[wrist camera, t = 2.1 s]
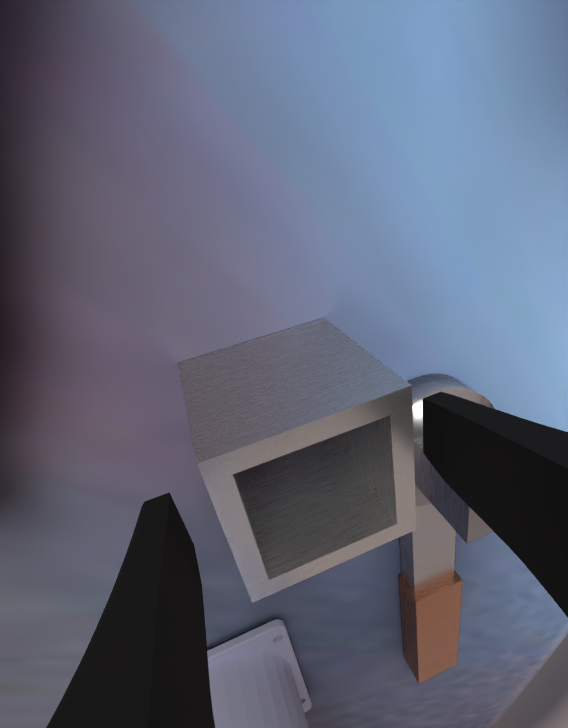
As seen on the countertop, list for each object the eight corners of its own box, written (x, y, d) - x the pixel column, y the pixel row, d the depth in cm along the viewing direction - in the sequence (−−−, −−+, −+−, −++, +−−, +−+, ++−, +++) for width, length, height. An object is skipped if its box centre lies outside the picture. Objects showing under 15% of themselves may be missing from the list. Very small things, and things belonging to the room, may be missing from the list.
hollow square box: (340, 432, 15) (416, 529, 11) (220, 477, 14) (252, 603, 10) (323, 317, 13) (412, 385, 9) (178, 362, 12) (196, 463, 8)
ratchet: (353, 400, 15) (426, 477, 11) (474, 356, 16) (579, 412, 12) (385, 666, 25) (429, 755, 21) (458, 628, 26) (512, 706, 22)
